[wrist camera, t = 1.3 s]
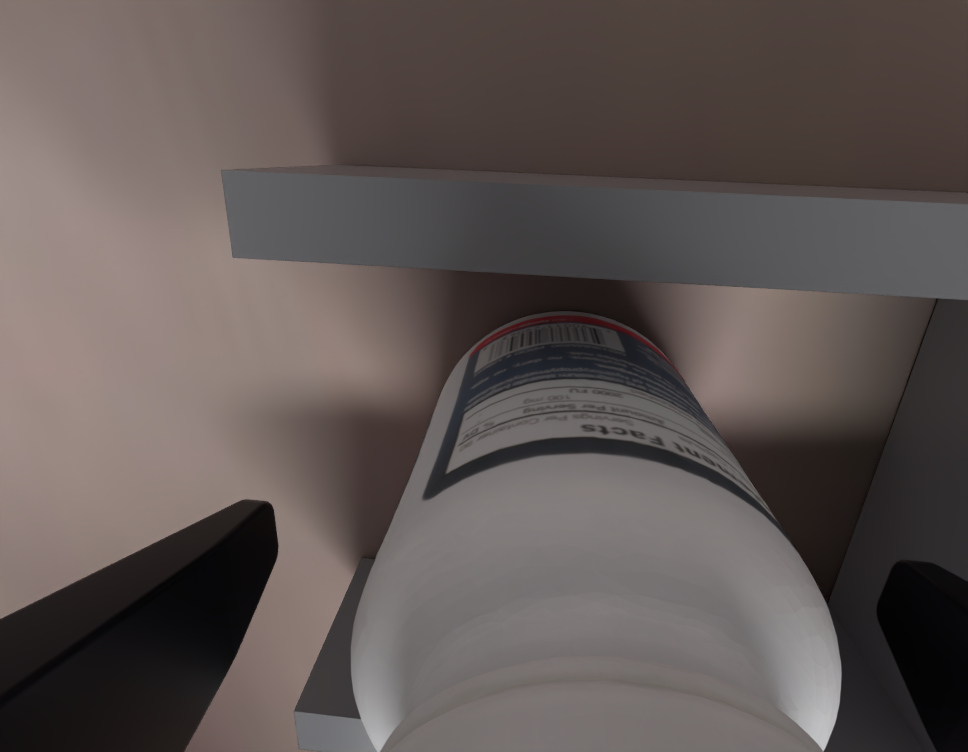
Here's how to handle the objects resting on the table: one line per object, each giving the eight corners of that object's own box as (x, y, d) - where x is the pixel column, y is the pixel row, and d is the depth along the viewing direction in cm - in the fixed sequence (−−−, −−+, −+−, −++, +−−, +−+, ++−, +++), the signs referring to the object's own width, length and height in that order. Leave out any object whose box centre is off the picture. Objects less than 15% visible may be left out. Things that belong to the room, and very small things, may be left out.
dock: (860, 639, 13) (988, 834, 9) (363, 589, 14) (299, 748, 10) (1039, 195, 9) (1382, 222, 5) (339, 164, 10) (221, 169, 6)
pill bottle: (585, 565, 13) (665, 1284, 5) (395, 451, 12) (100, 1059, 4) (745, 398, 11) (1362, 1125, 3) (530, 252, 10) (497, 636, 2)
